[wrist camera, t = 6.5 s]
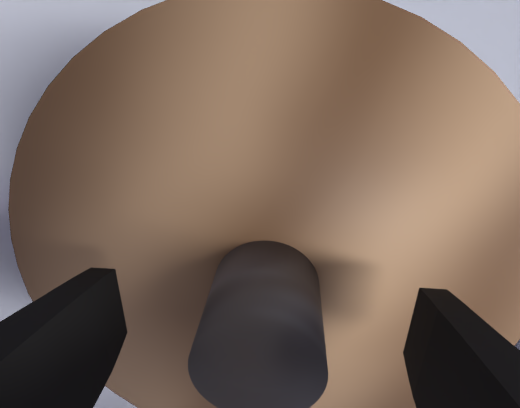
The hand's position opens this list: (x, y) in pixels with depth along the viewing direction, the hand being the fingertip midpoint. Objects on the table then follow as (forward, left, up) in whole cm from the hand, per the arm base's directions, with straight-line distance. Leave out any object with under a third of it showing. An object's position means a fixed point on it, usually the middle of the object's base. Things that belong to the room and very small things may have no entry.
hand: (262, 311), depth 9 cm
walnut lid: (0, 0, -2) cm, 2 cm away
